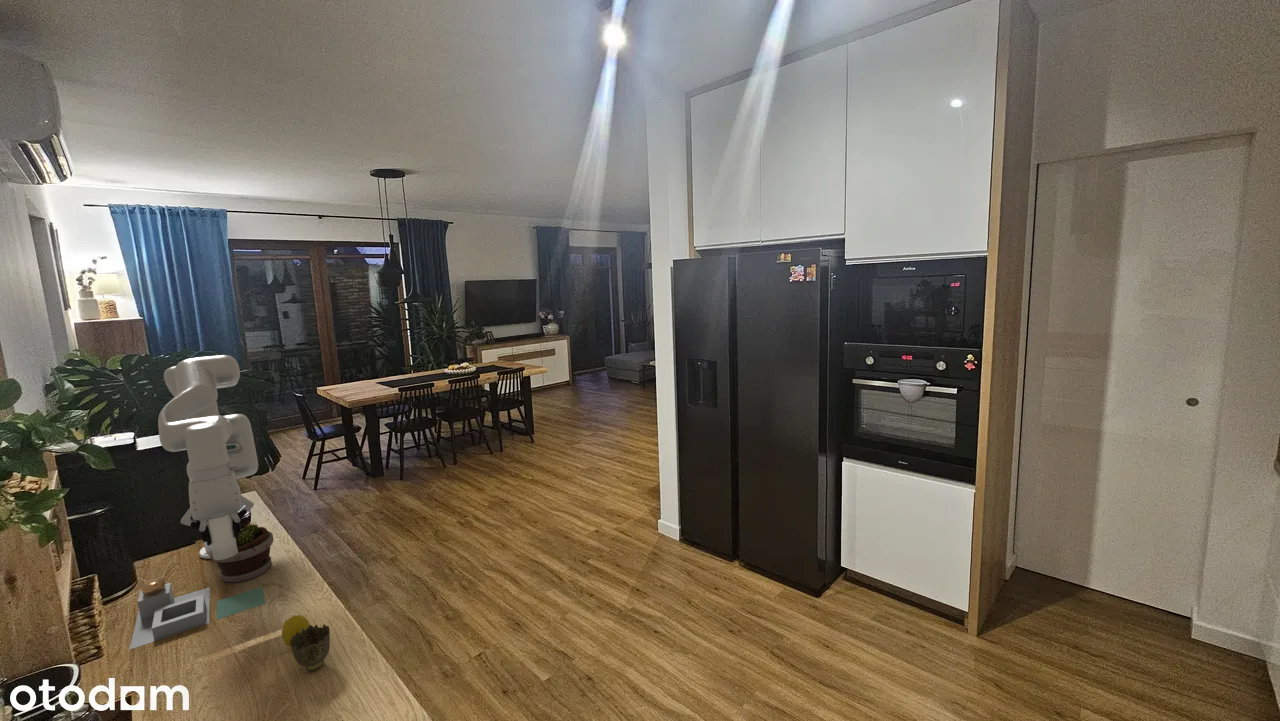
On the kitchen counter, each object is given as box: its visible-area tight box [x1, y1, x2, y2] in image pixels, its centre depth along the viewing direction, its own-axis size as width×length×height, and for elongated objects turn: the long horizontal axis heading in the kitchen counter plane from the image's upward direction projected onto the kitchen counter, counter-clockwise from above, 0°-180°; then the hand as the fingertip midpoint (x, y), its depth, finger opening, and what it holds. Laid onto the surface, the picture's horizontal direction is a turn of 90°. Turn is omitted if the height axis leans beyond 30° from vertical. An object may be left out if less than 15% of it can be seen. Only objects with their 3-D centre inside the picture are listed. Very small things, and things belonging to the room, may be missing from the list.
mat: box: [216, 586, 266, 620], centre depth 141 cm, size 10×10×1 cm
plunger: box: [140, 577, 166, 595], centre depth 138 cm, size 4×4×6 cm
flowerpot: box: [210, 518, 274, 583], centre depth 154 cm, size 14×15×20 cm
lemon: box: [281, 614, 311, 648], centre depth 124 cm, size 6×6×8 cm
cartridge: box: [207, 513, 238, 560], centre depth 137 cm, size 5×5×12 cm
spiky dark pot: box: [290, 624, 331, 673], centre depth 117 cm, size 8×7×8 cm
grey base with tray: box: [128, 582, 211, 650], centre depth 136 cm, size 20×14×6 cm
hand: (223, 538), depth 137 cm, fingers closed on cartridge, 5 cm apart
